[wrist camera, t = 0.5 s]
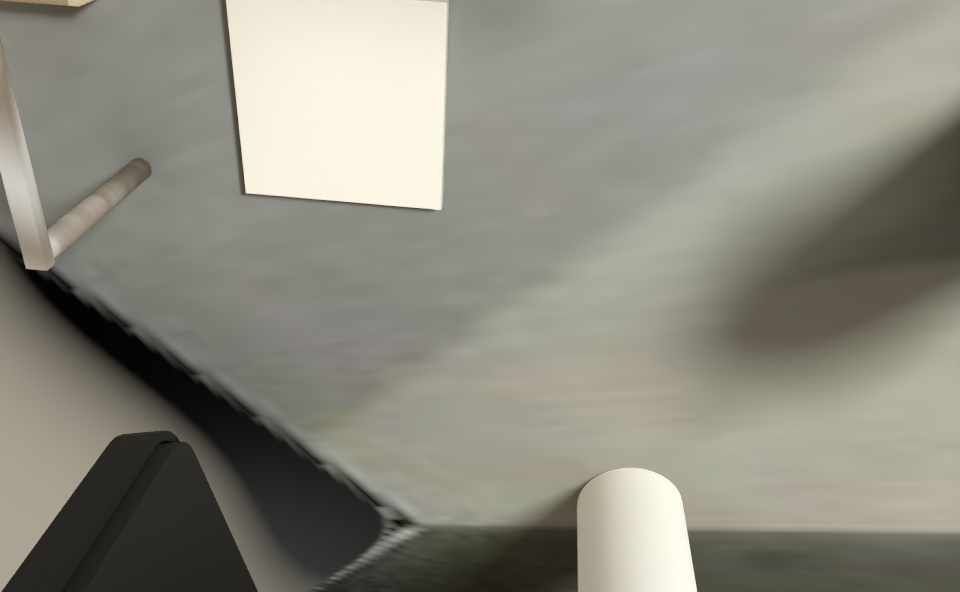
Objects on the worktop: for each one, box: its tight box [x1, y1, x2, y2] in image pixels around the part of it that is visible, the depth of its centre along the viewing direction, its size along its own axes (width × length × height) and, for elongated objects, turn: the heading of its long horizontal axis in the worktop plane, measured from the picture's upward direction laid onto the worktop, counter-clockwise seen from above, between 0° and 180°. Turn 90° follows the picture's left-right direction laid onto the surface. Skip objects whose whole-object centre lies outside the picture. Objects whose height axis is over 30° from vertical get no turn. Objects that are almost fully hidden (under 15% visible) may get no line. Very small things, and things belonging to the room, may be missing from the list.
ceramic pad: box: [226, 0, 449, 210], centre depth 43 cm, size 11×11×1 cm
